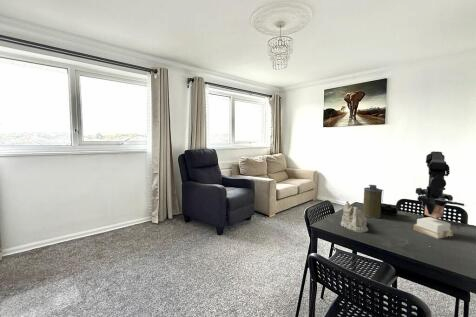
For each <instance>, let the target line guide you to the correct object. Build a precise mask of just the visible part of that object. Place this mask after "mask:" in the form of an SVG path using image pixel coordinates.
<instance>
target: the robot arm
mask: <svg viewBox="0 0 476 317" xmlns="http://www.w3.org/2000/svg"><path fill="white" fill-rule="evenodd" d="M445 157H446V156H445V154H443V152H442V151H434V150H433V151H430V152H429V153H428V154H426V158H425V164H426V166H427V168H428V186H426V188H422V187H417V188H415V194H417V202H421V210H423V216H421V217H420V219H421V218H427V217H431V216H428V215H425V205H426V207H427V210H428V213H429V214H430V215H431V214H432V213H433V210H434V208H435V206H436V205H439V206H443V207H444V208H445V206H446V205H447V204H448V203H449V202H452V201H453V200H454V197H453V195H452V194H448V193H444V191H446V188H445V187H446V186H447V181H446V179H445V177H448V176H449V175H450V174H451V173H450V171H451V170H450V166H449V164H447V161H446V159H445ZM431 218H434V217H431ZM434 219H437V218H434Z"/></svg>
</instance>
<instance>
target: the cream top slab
mask: <svg viewBox="0 0 476 317" xmlns="http://www.w3.org/2000/svg"><path fill="white" fill-rule="evenodd" d="M416 224H417V225H418V226H420V227H423V228H426V229H429V230H432V231H435V232H441V231H446V230H450V229H451V223H450V222H448V221H444V220H441V219H438V218H436V219H434V218H431V217H427V218H421V217H420V218H417V219H416Z"/></svg>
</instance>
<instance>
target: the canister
mask: <svg viewBox="0 0 476 317" xmlns="http://www.w3.org/2000/svg"><path fill="white" fill-rule="evenodd" d="M383 200H384V199H383V189H381V188H377V185H376V184H369V185H368V187H364V188H363V207H362V213H363V215H364V216H365V217H366V218H372V219H373V218H374V219H378V218H381V216H382V215H380V213H381V203H382V204H383V203H384V202H383Z"/></svg>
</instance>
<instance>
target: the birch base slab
mask: <svg viewBox="0 0 476 317" xmlns="http://www.w3.org/2000/svg"><path fill="white" fill-rule="evenodd" d="M413 230H414V231H416V232H418V233H420V234H421V233H422V234H424V235H427V236H429V237H431V238H435V239H437V240H438V239H442V238H443V239H444V238H448V236H449V237H453V236H454V229H451V228H450V230H446V231H441V232H435V231H432V230H429V229H426V228H423V227H420V226H418V225H417V223H415V224H413Z"/></svg>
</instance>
